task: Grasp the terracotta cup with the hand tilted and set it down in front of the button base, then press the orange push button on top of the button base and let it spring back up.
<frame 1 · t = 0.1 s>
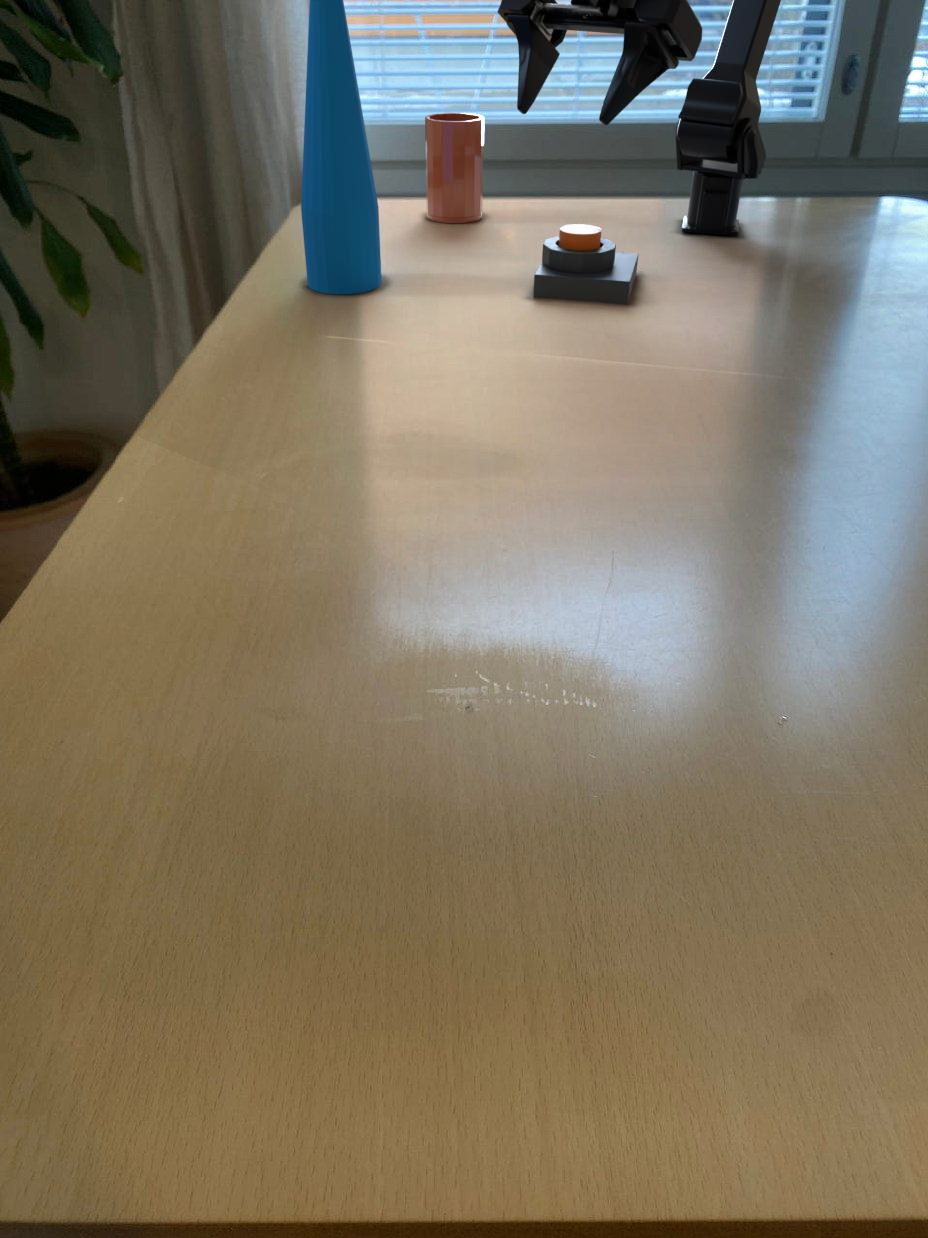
hand: (560, 116, 85), 15 cm above the table, tool tilted 35°, fingers open, 9 cm apart
cup: (454, 216, 117), on the table
button base: (586, 286, 93), on the table
orange push button: (579, 238, 91), point 4 cm above the table, slide at 0.1 cm
bottle: (344, 285, 94), on the table
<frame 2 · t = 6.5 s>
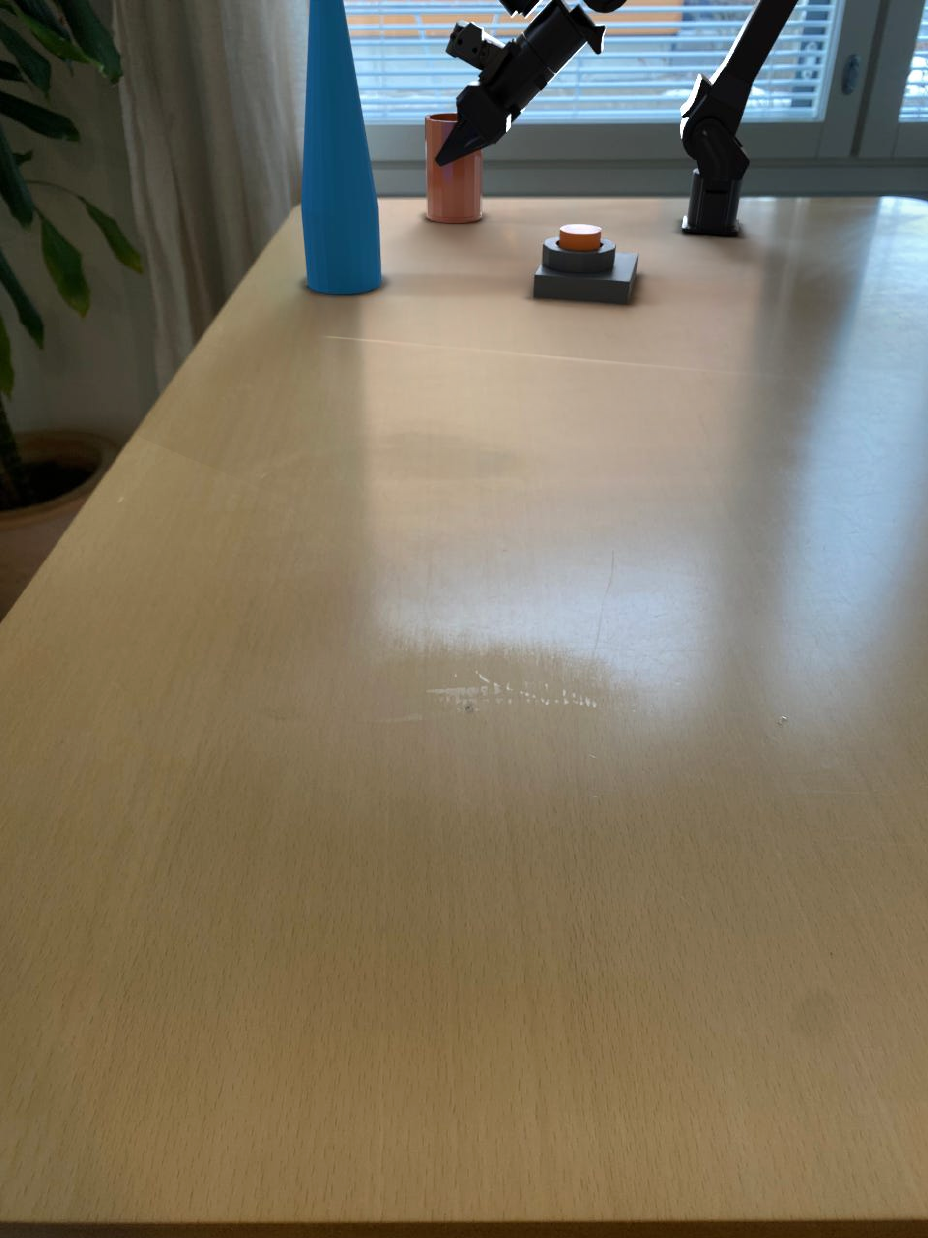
hand: (443, 157, 113), 7 cm above the table, tool tilted 45°, fingers closed on cup, 7 cm apart
cup: (454, 216, 117), on the table, touching gripper
everything else where it was.
when the fingers open (7 cm above the table, at t = 13.1 s): cup stays where it is, on the table.
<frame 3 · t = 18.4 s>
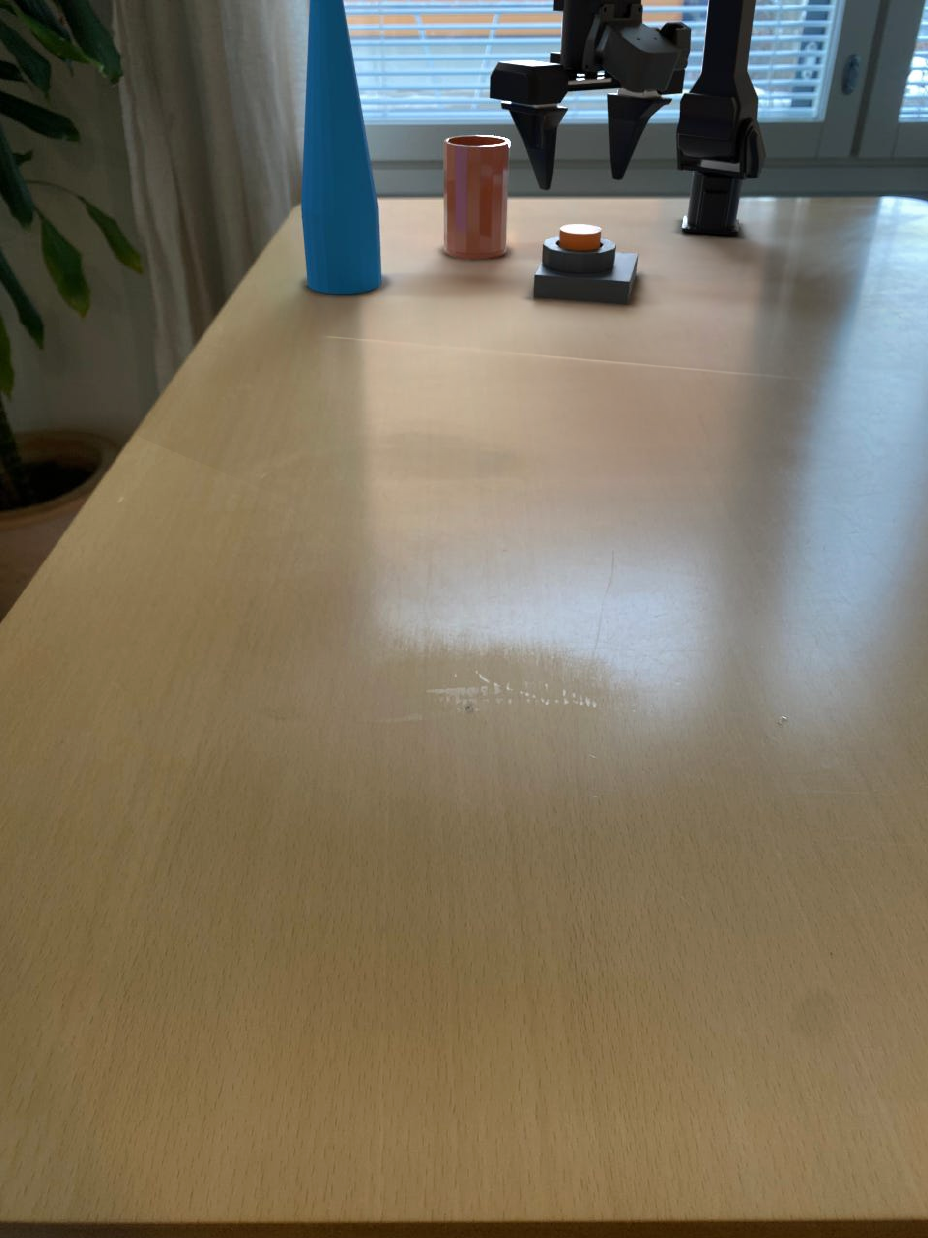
hand: (582, 184, 88), 9 cm above the table, tool pointing down, fingers open, 9 cm apart
cup: (475, 251, 104), on the table
everything else where it was.
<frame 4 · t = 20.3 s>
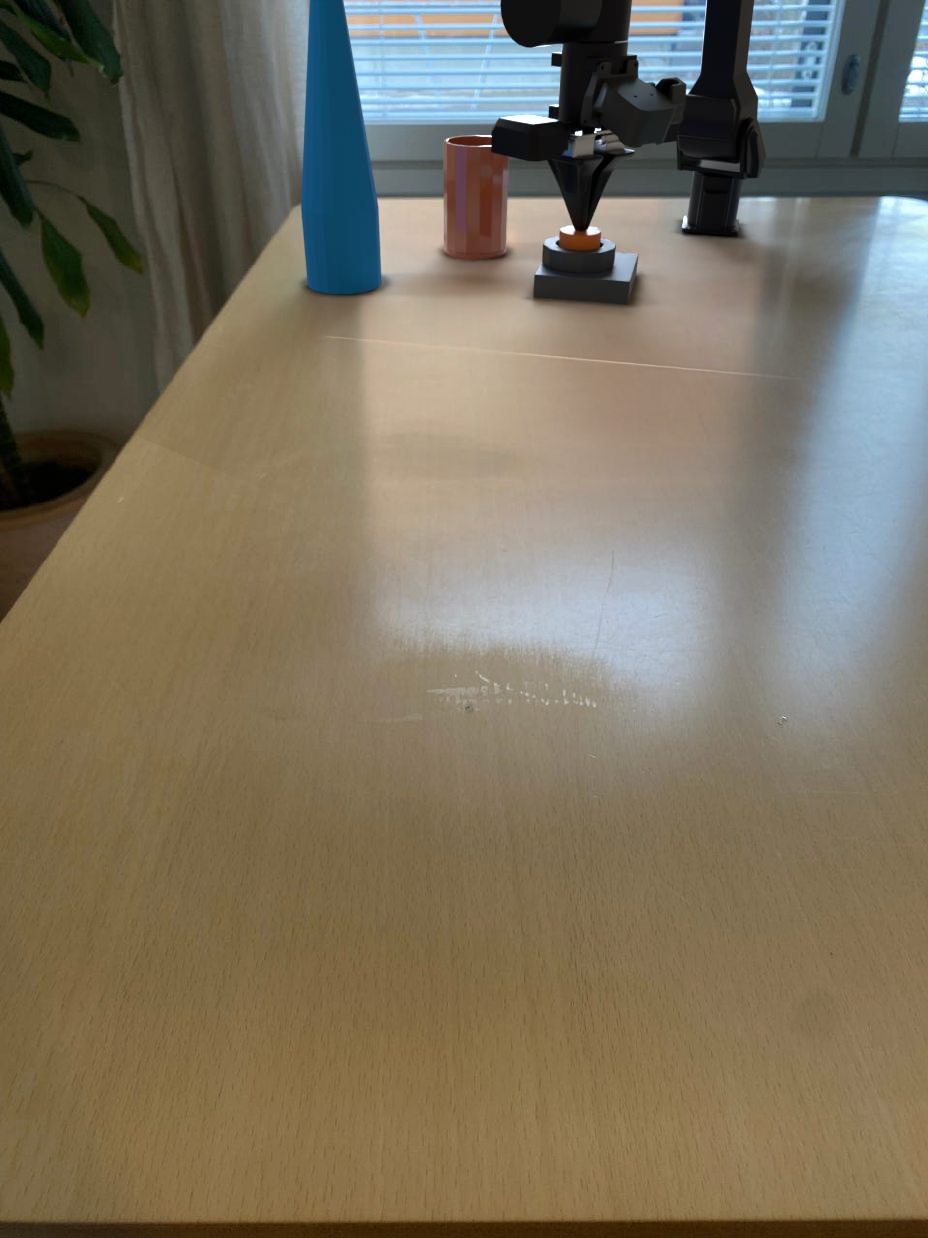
hand: (580, 229, 91), 5 cm above the table, tool pointing down, fingers closed, pressing on orange push button
orange push button: (579, 239, 91), point 4 cm above the table, slide at 0.0 cm, touching gripper
everything else where it was.
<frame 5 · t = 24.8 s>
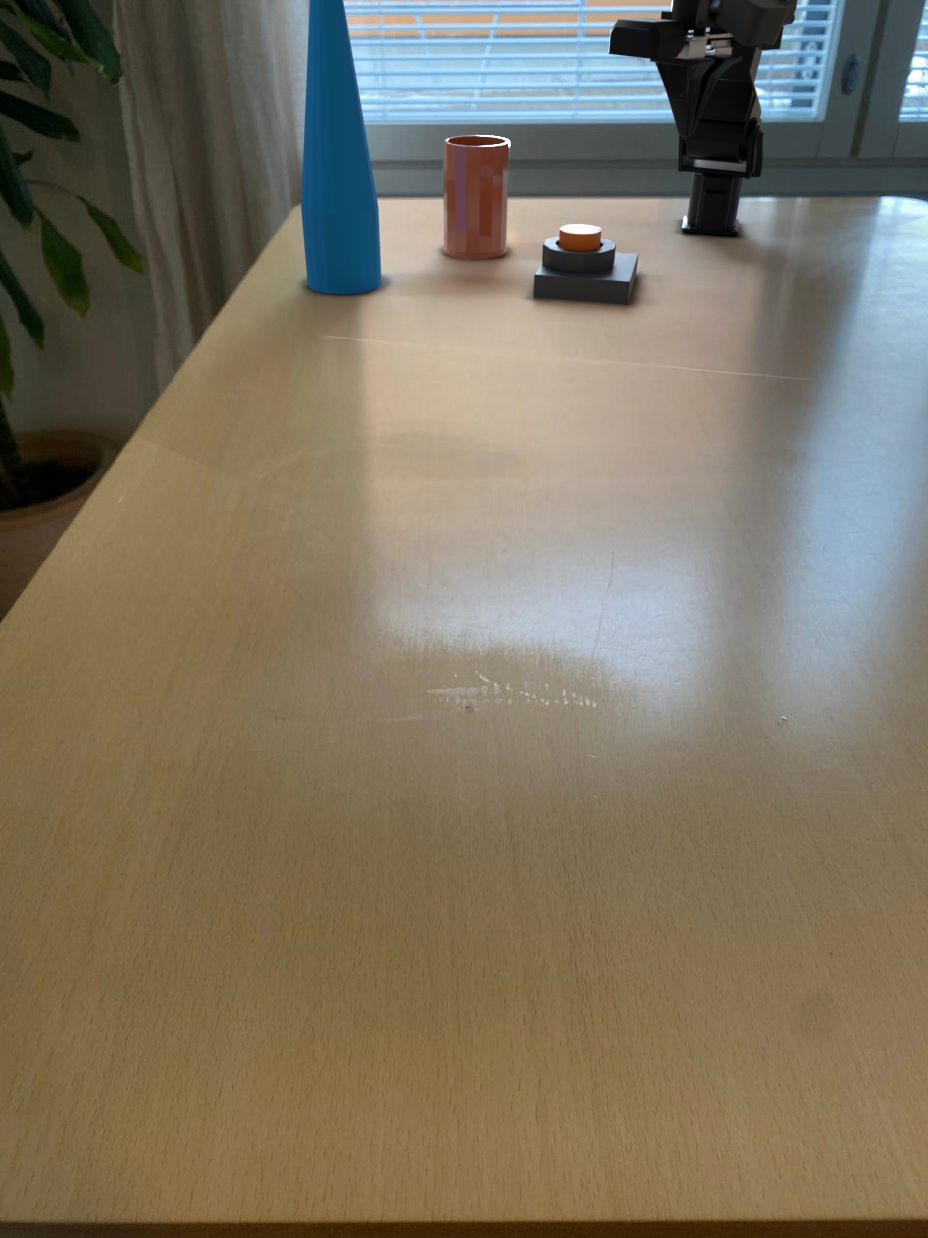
hand: (685, 136, 95), 12 cm above the table, tool pointing down, fingers closed
orange push button: (579, 238, 91), point 4 cm above the table, slide at 0.1 cm
everything else where it was.
at the end: orange push button pushed in 1.1 cm at the most during the clip, back to where it started at the end; orange push button slide at 0.1 cm; cup inside the target area on the table beside the button base (0.0 cm from its centre), on the table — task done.
